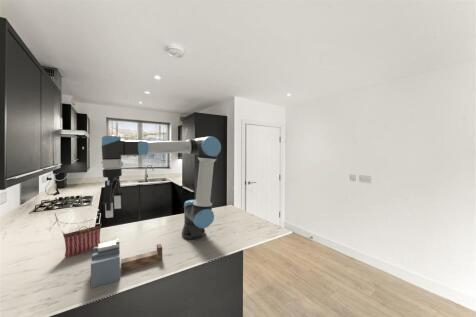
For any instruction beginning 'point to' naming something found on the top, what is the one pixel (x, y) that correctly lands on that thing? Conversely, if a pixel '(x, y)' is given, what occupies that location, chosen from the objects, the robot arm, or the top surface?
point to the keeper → (108, 246)
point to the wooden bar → (142, 259)
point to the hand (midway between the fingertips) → (113, 212)
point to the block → (105, 267)
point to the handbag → (81, 240)
